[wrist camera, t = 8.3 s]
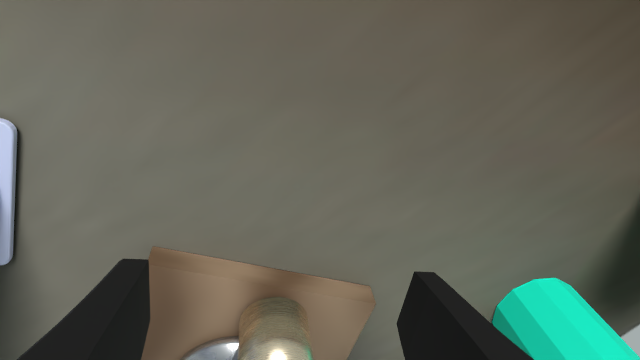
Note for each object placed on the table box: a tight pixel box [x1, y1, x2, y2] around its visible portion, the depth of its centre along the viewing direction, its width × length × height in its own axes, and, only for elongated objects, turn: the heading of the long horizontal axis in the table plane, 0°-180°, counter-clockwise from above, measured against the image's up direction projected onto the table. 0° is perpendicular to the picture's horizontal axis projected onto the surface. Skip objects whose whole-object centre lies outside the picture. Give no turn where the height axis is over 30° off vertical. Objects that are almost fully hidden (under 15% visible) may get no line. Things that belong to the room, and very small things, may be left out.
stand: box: [141, 246, 376, 360], centre depth 26 cm, size 13×13×2 cm
